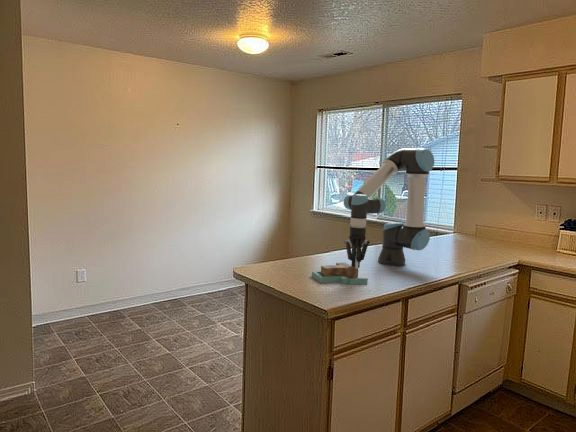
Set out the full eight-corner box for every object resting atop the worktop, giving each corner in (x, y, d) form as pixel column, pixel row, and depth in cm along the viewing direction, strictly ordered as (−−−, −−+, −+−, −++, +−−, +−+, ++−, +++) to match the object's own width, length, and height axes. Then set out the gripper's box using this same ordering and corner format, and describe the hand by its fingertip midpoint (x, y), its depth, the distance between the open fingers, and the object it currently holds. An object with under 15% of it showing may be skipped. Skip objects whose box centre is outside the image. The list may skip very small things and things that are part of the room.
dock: (347, 271, 220) (347, 267, 220) (367, 283, 200) (367, 278, 200) (308, 273, 213) (308, 268, 213) (324, 286, 194) (325, 280, 193)
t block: (344, 274, 216) (345, 262, 215) (357, 281, 203) (358, 269, 202) (316, 275, 211) (317, 263, 210) (328, 283, 198) (329, 270, 197)
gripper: (366, 225, 212) (363, 271, 215) (342, 225, 208) (339, 272, 211) (373, 227, 205) (370, 275, 208) (349, 227, 201) (346, 277, 204)
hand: (354, 274), depth 209 cm, fingers closed
